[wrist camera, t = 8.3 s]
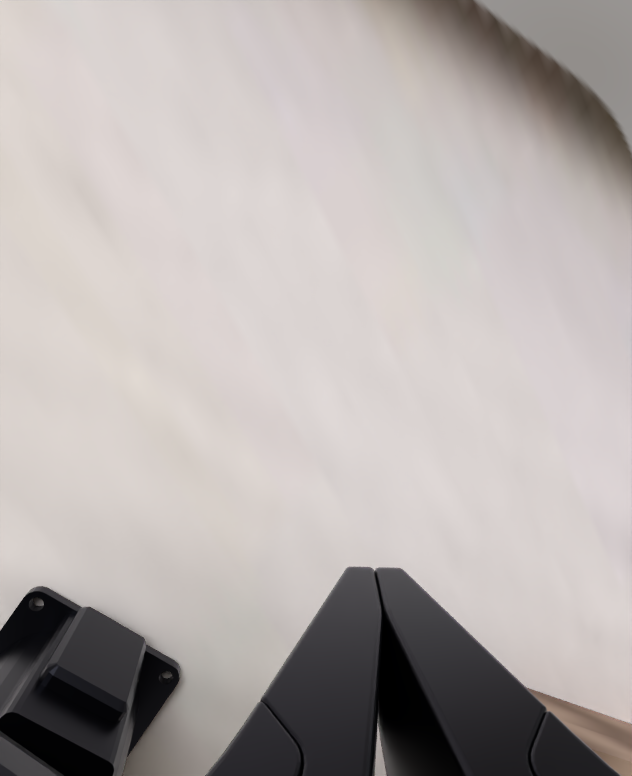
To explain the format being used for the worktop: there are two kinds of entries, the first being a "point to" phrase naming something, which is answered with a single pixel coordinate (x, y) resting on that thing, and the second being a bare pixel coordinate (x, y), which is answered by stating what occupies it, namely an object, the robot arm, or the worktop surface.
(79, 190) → the worktop surface
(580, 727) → the board
